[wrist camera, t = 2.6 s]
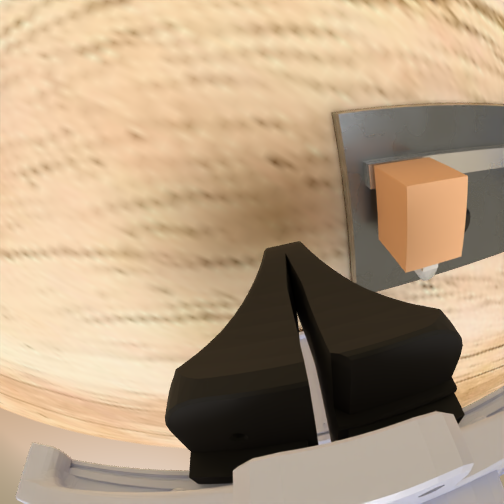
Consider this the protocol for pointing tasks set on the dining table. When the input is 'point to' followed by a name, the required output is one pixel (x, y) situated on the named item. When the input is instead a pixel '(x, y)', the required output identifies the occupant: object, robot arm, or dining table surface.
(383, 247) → the bolt plate
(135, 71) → the dining table surface
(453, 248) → the orange block
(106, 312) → the dining table surface
